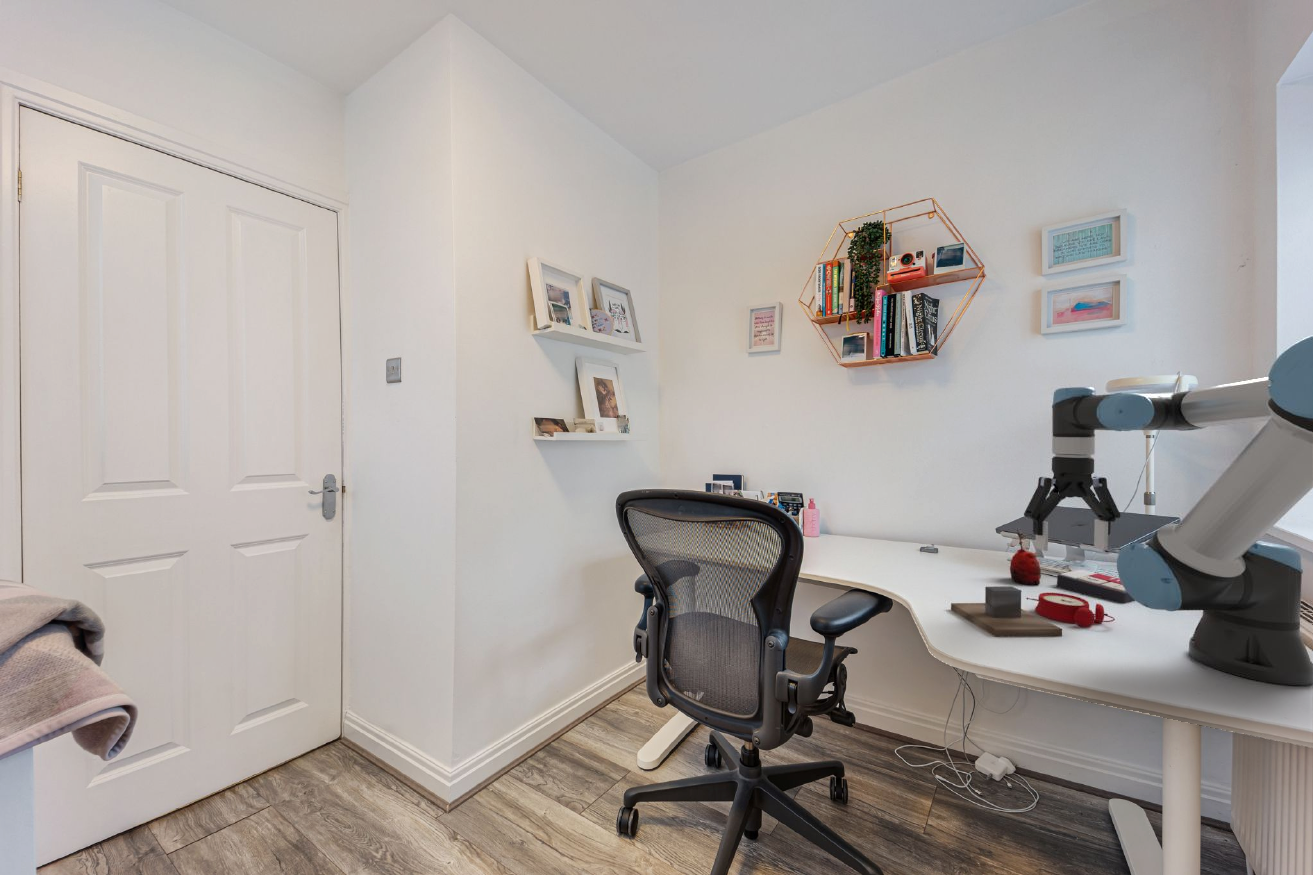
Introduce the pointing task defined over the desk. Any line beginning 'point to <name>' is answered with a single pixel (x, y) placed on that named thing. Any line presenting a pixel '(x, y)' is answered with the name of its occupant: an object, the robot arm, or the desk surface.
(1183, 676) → the desk surface
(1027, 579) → the red clay folk toy
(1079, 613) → the alarm clock
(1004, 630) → the stand
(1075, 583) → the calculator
